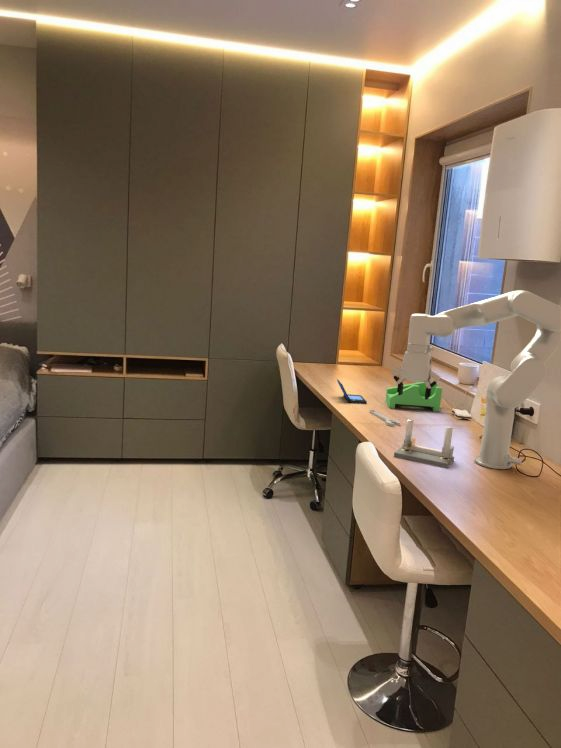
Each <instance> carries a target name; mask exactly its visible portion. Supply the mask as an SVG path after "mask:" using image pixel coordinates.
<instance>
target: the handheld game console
mask: <svg viewBox="0 0 561 748" xmlns="http://www.w3.org/2000/svg"><path fill="white" fill-rule="evenodd" d="M336 380H337V383H338V386H339V387H340V389H341V392H342V394H343V395H342V396H343V398H344V397H345V398H344V399H345V400H346V402H347V401H348V402H347V403H348V404H359V403H361V404H360V405H363V404H364V405H366V404H367V400H366V398H364V397H363V396H362V395H361V394H351V393H350V394H348V393H347V391H346V388H345V387H344V385H343V383H342V382H341V381H340V380H339V379H337V378H336Z"/></svg>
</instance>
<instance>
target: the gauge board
mask: <svg viewBox="0 0 561 748" xmlns="http://www.w3.org/2000/svg"><path fill="white" fill-rule="evenodd" d="M453 428H454V427H453V426H448V425H447V426H445V429H444V430H445V431H444V438H443V439H444V440H443V447H442V449H436V448H431V447H427V446H421V445H417V444H414V445H413V446H412V447H410V448H409V449H408V450H406V449H405V447H404V445H403V444H404V442H403V443H402V445H401V447H400V448H398V449H397V450H396V451H394V453H393V457H394V458H399V459H404V460H409V461H413V462H417V463H423V464H427V465H432V466H436V467H441V468H446V469H448V468H449V467H450V465H452V463H453V462H454V460H455V456H454V449H455V445H451V444H452V439H453V438H452V437H453Z"/></svg>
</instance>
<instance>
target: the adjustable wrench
mask: <svg viewBox="0 0 561 748" xmlns="http://www.w3.org/2000/svg"><path fill="white" fill-rule="evenodd" d="M369 413H370V414H371V415H373V416H374V417H376V416H377V417H376V418H378V419H380V420H382V421H383V420H384V422H385V425H386V426H388V425H389V426H388V427H391V426H395V427H396V426H399V427H400V426H401V422H400V421H399V420H395V419H391V418H390V417H387V416H385V415H384V414H382V413H380V412H378V411H377V410H374V409H370V410H369Z"/></svg>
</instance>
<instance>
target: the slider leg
mask: <svg viewBox="0 0 561 748" xmlns="http://www.w3.org/2000/svg"><path fill="white" fill-rule="evenodd" d="M413 428H414V420H413V419H411V418H409V419H406V423H405V432H404V439H403V443H404V444H403V443H402V444H403V445H404V447H405V449H406V450H408V449H409V448H410V447H412V446H413V445H416V438H413Z"/></svg>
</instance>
